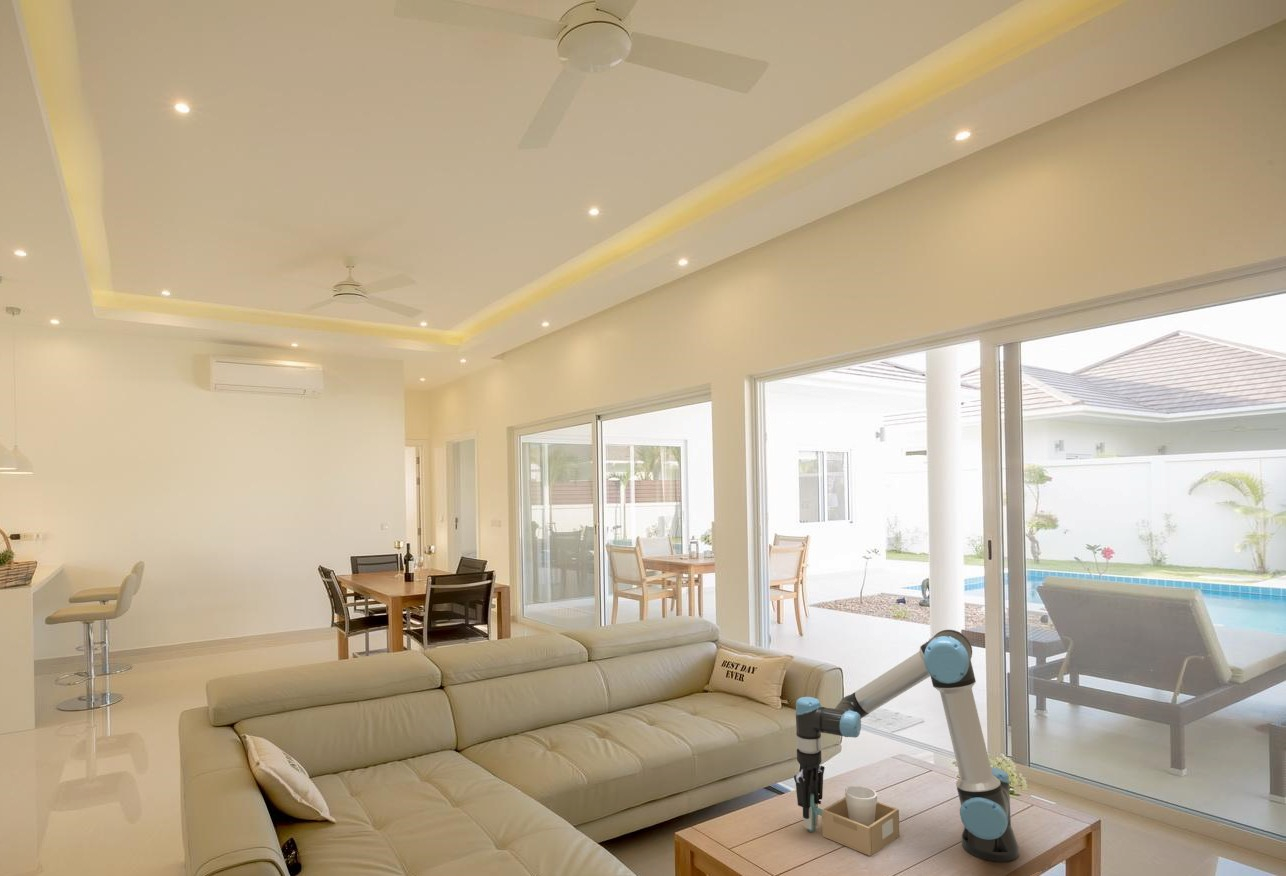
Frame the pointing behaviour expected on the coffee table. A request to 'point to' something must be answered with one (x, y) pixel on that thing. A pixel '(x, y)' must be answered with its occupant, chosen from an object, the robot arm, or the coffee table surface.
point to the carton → (875, 823)
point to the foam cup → (861, 804)
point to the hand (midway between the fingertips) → (810, 826)
